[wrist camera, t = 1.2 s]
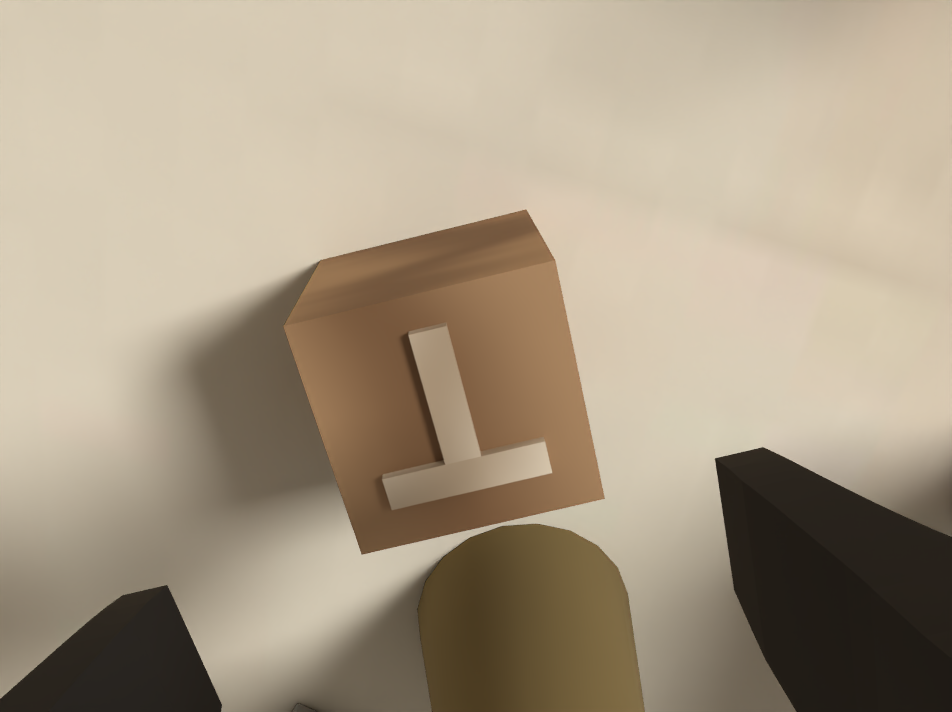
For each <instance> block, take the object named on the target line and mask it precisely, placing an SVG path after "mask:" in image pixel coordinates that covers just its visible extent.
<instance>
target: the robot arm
mask: <svg viewBox="0 0 952 712" xmlns="http://www.w3.org/2000/svg"><path fill="white" fill-rule="evenodd" d="M715 462H716V469H717V475H718V482H719V489H720V496H721V503H722V509H723V516H724V523H725V530H726V537H727V543H728V550H729V557H730V564H731V571H732V578H733V584H734V590H735V593H736V595H737V597H738V599H739V602H740V604H741V606H742V609H743V611H744V613H745V615H746V618H747V620H748V622H749V625H750V627H751V629H752V631H753V633H754V636H755V638H756V640H757V642H758V644H759V646H760V649H761V651H762V653H763V655H764V657H765V659H766V661H767V663H768V665H769V666H770V668H771V670H772V671H773V673H774V675H775V677H776V678H777V680H778V682H779V683H780V685H781V687H782V688H783V690H784V692H785V693H786V695H787V697H788V698H789V700H790V702H791V703H792V705H793V707H794V708H795V710H796V712H952V537H950V536H948V535H945V534H943V533H940V532H938V531H936V530H933V529H931V528H929V527H926V526H924V525H922V524H920V523H917V522H915V521H913V520H911V519H908V518H906V517H904V516H902V515H900V514H898V513H895V512H893V511H891V510H889V509H887V508H885V507H883V506H881V505H878V504H876V503H874V502H872V501H870V500H868V499H866V498H864V497H862V496H860V495H858V494H856V493H854V492H852V491H850V490H848V489H846V488H844V487H842V486H840V485H838V484H836V483H834V482H832V481H830V480H828V479H826V478H824V477H822V476H820V475H818V474H816V473H814V472H812V471H810V470H808V469H806V468H804V467H802V466H800V465H798V464H796V463H795V462H793V461H791V460H789V459H787V458H785V457H783V456H781V455H779V454H776V453H774V452H772V451H770V450H768V449H766V448H758V449H754V450H750V451H745V452H741V453H737V454H732V455H728V456H724V457H719V458H715ZM221 708H222V704H221V702H220V700H219V697H218V695H217V693H216V691H215V689H214V686H213V684H212V682H211V680H210V678H209V675H208V673H207V671H206V669H205V667H204V665H203V662H202V660H201V658H200V656H199V654H198V651H197V649H196V647H195V645H194V643H193V640H192V638H191V636H190V634H189V632H188V629H187V627H186V625H185V623H184V621H183V618H182V616H181V614H180V612H179V610H178V608H177V605H176V603H175V601H174V599H173V597H172V594H171V592H170V590H169V588H168V586H167V585H166V586H161V587H157V588H153V589H148V590H144V591H140V592H135V593H131V594H127V595H123V596H121V597H120V598H118V599H117V600H116V601H114V602H113V603H111V604H110V605H109V606H107V607H106V608H105V609H103V610H102V611H101V612H100V613H98V614H97V615H96V616H95V617H94V618H92V619H91V620H90V621H89V622H87V623H86V624H85V625H84V626H83V627H82V628H80V629H79V630H78V631H77V632H76V633H75V634H73V635H72V636H71V637H70V638H69V639H68V640H67V641H65V642H64V643H63V644H62V645H61V646H60V647H59V648H57V649H56V650H55V651H54V652H53V653H52V654H51V655H50V656H48V657H47V658H46V659H45V660H44V661H43V662H42V663H40V664H39V665H38V666H37V667H36V668H35V669H34V670H33V671H31V672H30V673H29V674H28V675H27V676H26V677H25V678H24V679H22V680H21V681H20V682H19V683H18V684H17V685H16V686H14V687H13V688H12V689H11V690H10V691H9V692H8V693H7V694H5V695H4V696H3V697H2V698H1V699H0V712H221Z"/></svg>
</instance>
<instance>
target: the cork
mask: <svg viewBox="0 0 952 712" xmlns="http://www.w3.org/2000/svg"><path fill="white" fill-rule="evenodd" d="M417 610H418V620H419V631H420V639H421V645H422V652H423V658H424V664H425V670H426V677H427V683H428V689H429V695H430V702H431V708H432V712H645V710H644V703H643V696H642V689H641V682H640V675H639V669H638V662H637V655H636V648H635V641H634V634H633V627H632V620H631V613H630V606H629V599H628V593H627V591H626V588H625V585H624V583H623V580H622V577H621V575H620V572H619V570H618V568H617V566H616V565H615V564H614V563H613V562H612V561H611V560H610V559H609V558H608V556H607V555H606V554H605V553H604V552H603V551H602V550H601V549H600V548H599V547H598V546H597V545H595V544H593V543H592V542H590V541H588V540H586V539H584V538H583V537H581V536H579V535H577V534H575V533H573V532H572V531H569V530H564V529H560V528H555V527H550V526H545V525H540V524H528V525H513V526H502V527H499V528H496V529H493V530H491V531H488V532H485V533H482V534H479V535H477V536H474V537H471V538H469V539H468V540H466V541H465V542H464V543H462V544H461V545H459V546H458V547H457V548H455V549H454V550H452V551H451V552H450V553H448V554H447V555H446V556H444V557H443V558H442V560H441V561H440V562H439V564H438V565H437V566H436V568H435V569H434V571H433V572H432V573H431V575H430V576H429V577H428V579H427V580H426V581H425V585H424V588H423V592H422V595H421V598H420V602H419V605H418V609H417Z"/></svg>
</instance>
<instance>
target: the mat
mask: <svg viewBox="0 0 952 712" xmlns="http://www.w3.org/2000/svg"><path fill="white" fill-rule="evenodd" d="M292 712H317V711H314V710H312V709H310V708H307V707H305V706H303V705H301V704H298V703H297V705H296V706H295V708H294V709H293V711H292Z"/></svg>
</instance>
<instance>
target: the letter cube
mask: <svg viewBox="0 0 952 712" xmlns="http://www.w3.org/2000/svg"><path fill="white" fill-rule="evenodd" d="M283 327H284V330H285V333H286V336H287V339H288V342H289V345H290V348H291V350H292V353H293V356H294V359H295V362H296V365H297V368H298V371H299V374H300V377H301V379H302V382H303V385H304V388H305V391H306V394H307V397H308V400H309V403H310V406H311V409H312V411H313V414H314V417H315V420H316V423H317V426H318V429H319V432H320V435H321V438H322V440H323V443H324V446H325V449H326V452H327V455H328V458H329V461H330V464H331V467H332V469H333V472H334V475H335V478H336V481H337V484H338V487H339V490H340V493H341V496H342V498H343V501H344V504H345V507H346V510H347V513H348V516H349V519H350V522H351V525H352V527H353V530H354V533H355V536H356V539H357V542H358V545H359V548H360V551H361V554H366V553H371V552H375V551H379V550H384V549H388V548H392V547H397V546H401V545H405V544H410V543H414V542H418V541H423V540H427V539H431V538H436V537H440V536H444V535H449V534H453V533H458V532H462V531H466V530H471V529H475V528H479V527H484V526H488V525H492V524H497V523H501V522H505V521H510V520H514V519H518V518H523V517H527V516H531V515H536V514H540V513H544V512H549V511H553V510H557V509H562V508H566V507H570V506H575V505H579V504H583V503H588V502H592V501H597V500H601V499H605V498H604V493H603V488H602V484H601V479H600V474H599V469H598V464H597V460H596V455H595V450H594V445H593V440H592V435H591V431H590V426H589V421H588V416H587V411H586V407H585V402H584V397H583V392H582V387H581V382H580V378H579V373H578V368H577V363H576V358H575V354H574V349H573V344H572V339H571V334H570V330H569V325H568V320H567V315H566V310H565V305H564V301H563V296H562V291H561V286H560V281H559V277H558V272H557V267H556V262H555V259H554V257H553V256H552V254H551V252H550V250H549V249H548V247H547V245H546V243H545V242H544V240H543V238H542V236H541V235H540V233H539V231H538V229H537V228H536V226H535V224H534V222H533V220H532V219H531V217H530V215H529V213H528V212H527V210H523V211H519V212H514V213H510V214H506V215H502V216H498V217H494V218H490V219H486V220H482V221H478V222H474V223H470V224H466V225H462V226H458V227H454V228H449V229H445V230H441V231H437V232H433V233H429V234H425V235H421V236H417V237H413V238H409V239H405V240H401V241H397V242H393V243H389V244H385V245H380V246H376V247H372V248H368V249H364V250H360V251H356V252H352V253H348V254H344V255H340V256H336V257H332V258H328V259H324V260H321V261H320V262H319V264H318V266H317V268H316V269H315V271H314V273H313V275H312V276H311V278H310V280H309V282H308V283H307V285H306V287H305V289H304V291H303V292H302V294H301V296H300V298H299V299H298V301H297V303H296V305H295V306H294V308H293V310H292V312H291V313H290V315H289V317H288V319H287V320H286V322H285V324H284V326H283Z"/></svg>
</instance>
